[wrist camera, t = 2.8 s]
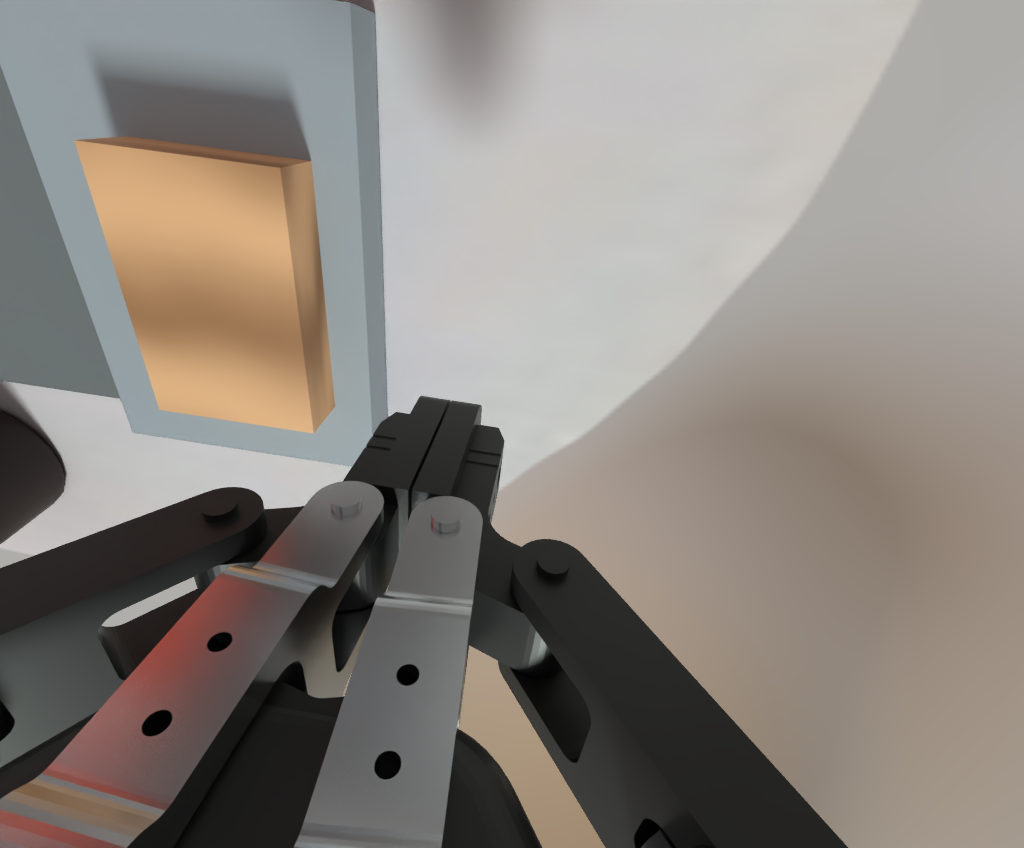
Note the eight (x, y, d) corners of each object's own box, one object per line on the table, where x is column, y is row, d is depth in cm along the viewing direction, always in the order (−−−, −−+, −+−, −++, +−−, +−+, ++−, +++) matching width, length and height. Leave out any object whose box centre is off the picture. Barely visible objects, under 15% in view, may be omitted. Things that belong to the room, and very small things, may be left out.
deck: (26, -30, 16) (-39, -45, 14) (375, 13, 15) (349, 1, 14) (163, 409, 24) (132, 432, 23) (388, 444, 24) (374, 470, 22)
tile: (126, 136, 16) (74, 140, 14) (311, 160, 16) (280, 167, 14) (192, 385, 21) (159, 410, 19) (334, 406, 21) (313, 433, 19)
